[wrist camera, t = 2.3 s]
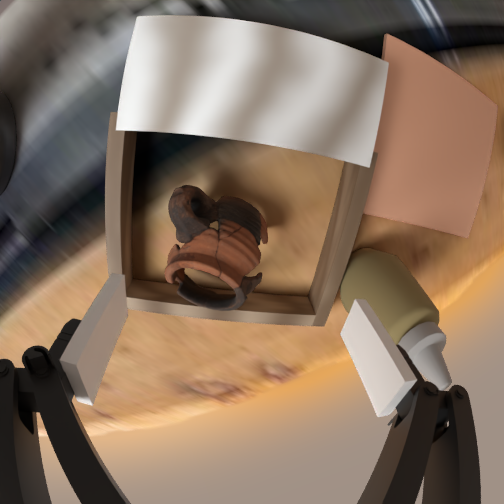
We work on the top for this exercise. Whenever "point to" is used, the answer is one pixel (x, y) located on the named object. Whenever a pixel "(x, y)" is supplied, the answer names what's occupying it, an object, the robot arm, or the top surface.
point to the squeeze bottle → (398, 308)
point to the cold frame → (245, 135)
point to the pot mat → (430, 144)
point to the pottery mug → (215, 246)
